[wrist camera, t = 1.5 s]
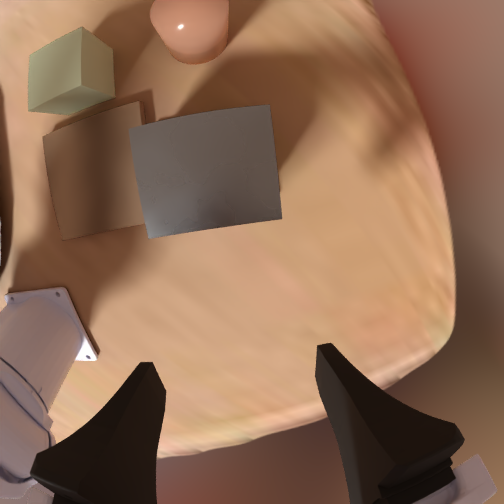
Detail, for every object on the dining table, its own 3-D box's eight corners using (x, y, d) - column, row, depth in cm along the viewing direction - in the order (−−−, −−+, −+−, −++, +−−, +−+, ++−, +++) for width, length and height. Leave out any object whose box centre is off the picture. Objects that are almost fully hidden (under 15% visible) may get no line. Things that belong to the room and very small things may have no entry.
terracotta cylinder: (170, 69, 14) (151, 44, 9) (166, 23, 13) (149, -11, 8) (231, 59, 14) (232, 30, 10) (224, 13, 13) (225, -24, 8)
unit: (167, 216, 18) (139, 251, 12) (152, 129, 15) (114, 121, 10) (273, 200, 18) (296, 228, 12) (262, 112, 16) (282, 92, 10)
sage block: (69, 115, 14) (28, 111, 10) (67, 68, 13) (29, 55, 8) (115, 97, 14) (81, 85, 10) (113, 49, 13) (82, 26, 8)
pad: (69, 236, 17) (62, 240, 16) (49, 136, 14) (42, 136, 13) (161, 217, 18) (158, 221, 17) (143, 102, 15) (138, 100, 14)
